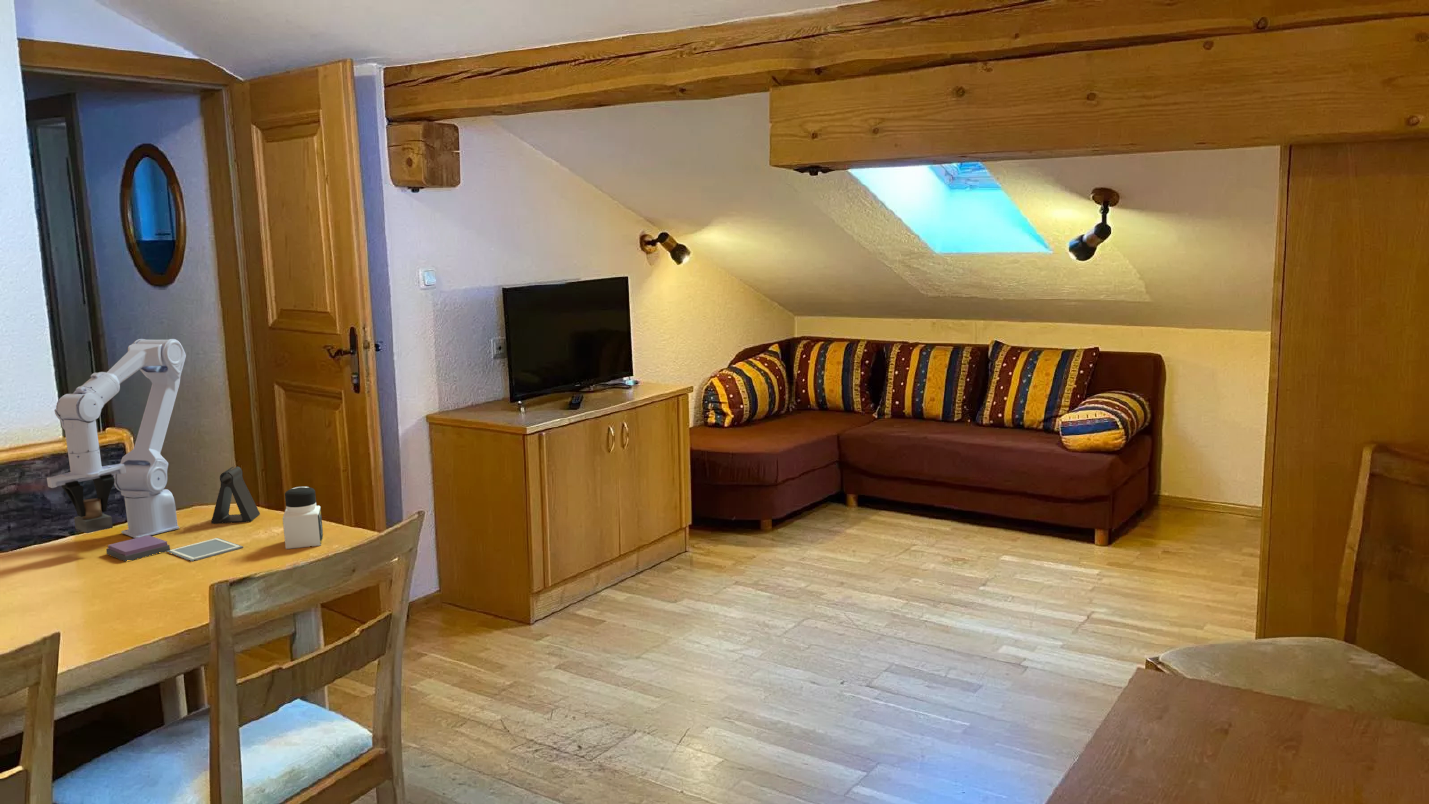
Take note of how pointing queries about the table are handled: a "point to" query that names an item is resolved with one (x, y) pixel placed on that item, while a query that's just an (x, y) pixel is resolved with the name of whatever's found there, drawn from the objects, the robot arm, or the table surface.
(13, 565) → the table surface
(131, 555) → the ink pad
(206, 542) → the board
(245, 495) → the dark grey triangular stand
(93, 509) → the stamp
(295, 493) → the medicine bottle
